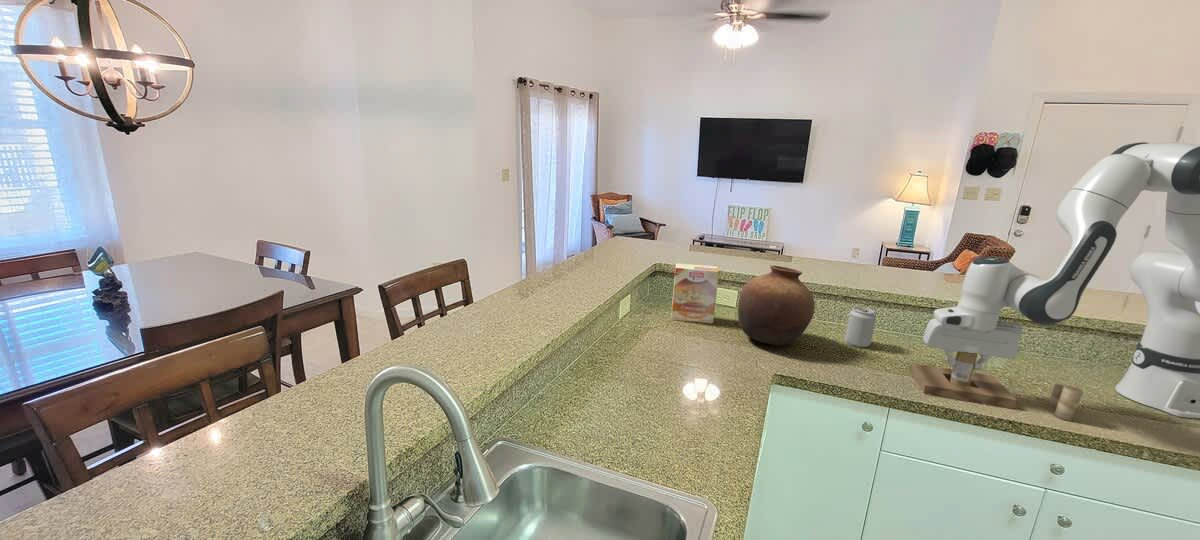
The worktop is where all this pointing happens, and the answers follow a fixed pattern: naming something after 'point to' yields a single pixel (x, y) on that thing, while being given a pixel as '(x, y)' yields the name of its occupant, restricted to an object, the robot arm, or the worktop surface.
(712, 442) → the worktop surface
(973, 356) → the sprinkles bottle
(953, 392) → the walnut board
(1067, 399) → the medium beech dowel
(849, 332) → the can
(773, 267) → the pottery
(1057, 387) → the short beech dowel
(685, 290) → the coffeecake box
